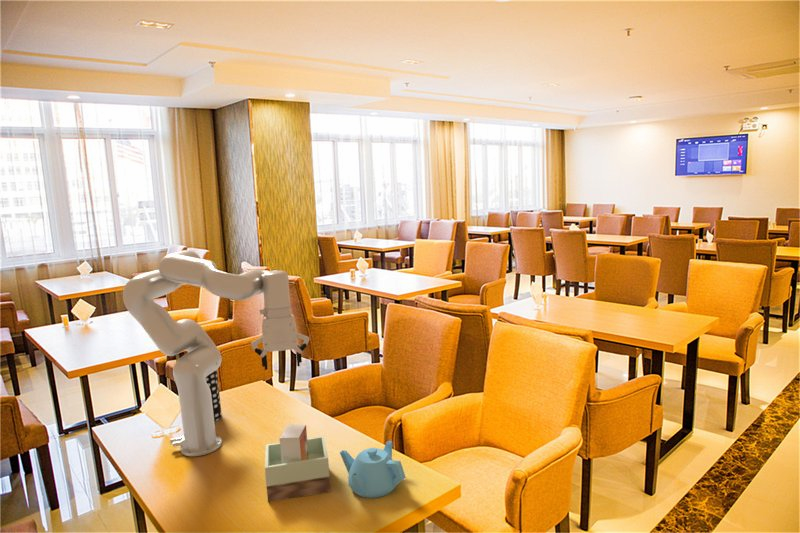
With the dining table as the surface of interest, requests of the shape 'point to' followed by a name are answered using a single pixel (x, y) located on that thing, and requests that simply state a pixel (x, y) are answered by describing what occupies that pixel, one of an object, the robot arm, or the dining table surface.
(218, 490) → the dining table surface
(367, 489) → the teapot
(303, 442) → the small box
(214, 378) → the white-spotted black cylinder
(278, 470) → the upper crate
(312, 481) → the lower crate
